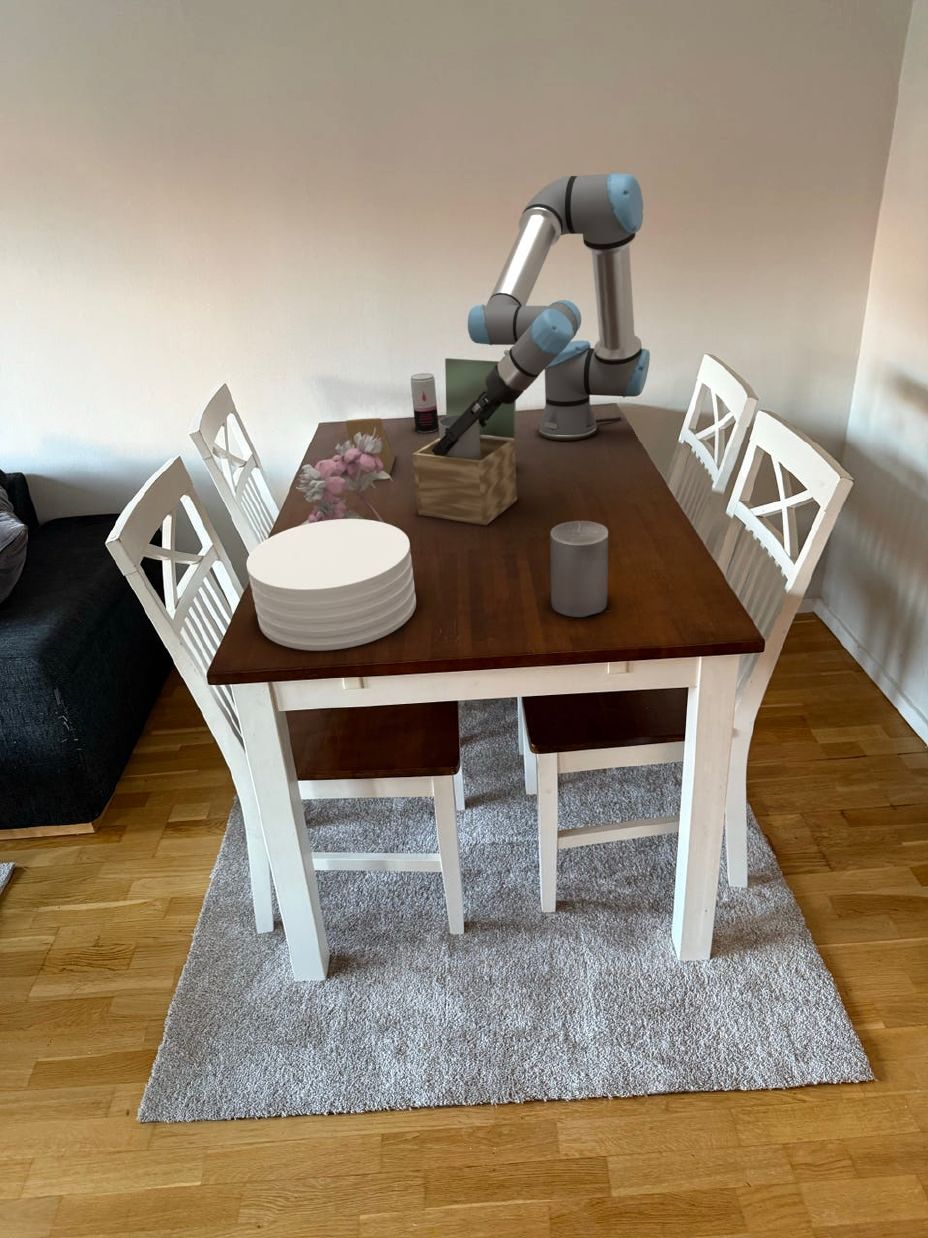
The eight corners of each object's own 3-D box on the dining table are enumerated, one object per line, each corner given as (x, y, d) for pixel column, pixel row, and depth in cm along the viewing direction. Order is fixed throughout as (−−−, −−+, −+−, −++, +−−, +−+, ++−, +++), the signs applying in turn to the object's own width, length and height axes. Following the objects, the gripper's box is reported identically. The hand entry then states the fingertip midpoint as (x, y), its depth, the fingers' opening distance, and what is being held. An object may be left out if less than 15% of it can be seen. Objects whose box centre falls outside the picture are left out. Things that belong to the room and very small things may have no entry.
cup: (486, 460, 188) (483, 414, 183) (474, 473, 181) (471, 427, 177) (450, 458, 191) (446, 413, 186) (437, 471, 184) (432, 425, 179)
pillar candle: (560, 588, 156) (559, 510, 149) (613, 595, 153) (615, 515, 145) (543, 613, 148) (541, 533, 141) (599, 621, 145) (600, 539, 137)
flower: (370, 501, 195) (309, 413, 179) (437, 514, 180) (376, 420, 164) (313, 565, 188) (244, 480, 173) (377, 585, 173) (308, 494, 157)
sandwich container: (396, 457, 225) (389, 399, 218) (388, 478, 212) (381, 418, 204) (363, 458, 226) (356, 401, 218) (353, 479, 212) (345, 419, 205)
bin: (486, 525, 183) (482, 462, 176) (418, 514, 191) (412, 453, 184) (517, 500, 194) (514, 439, 187) (452, 491, 201) (447, 432, 195)
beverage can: (441, 426, 246) (436, 372, 239) (435, 433, 240) (430, 378, 233) (419, 425, 247) (414, 372, 240) (412, 433, 242) (407, 379, 235)
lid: (514, 362, 180) (516, 362, 181) (445, 358, 188) (446, 357, 188) (513, 438, 186) (515, 437, 187) (446, 431, 194) (448, 430, 195)
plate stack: (417, 641, 143) (411, 580, 137) (248, 658, 142) (234, 596, 137) (414, 567, 167) (408, 512, 162) (269, 581, 167) (258, 526, 161)
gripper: (521, 350, 178) (460, 419, 194) (472, 376, 163) (409, 450, 178) (546, 377, 178) (482, 445, 194) (498, 406, 163) (433, 477, 178)
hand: (447, 447), depth 186 cm, fingers closed on cup, 8 cm apart
